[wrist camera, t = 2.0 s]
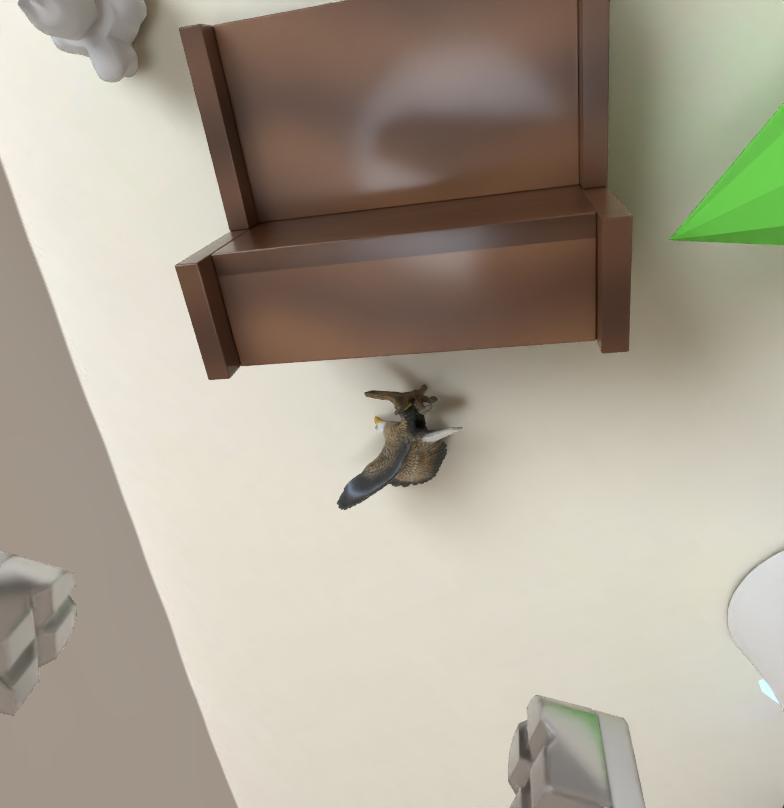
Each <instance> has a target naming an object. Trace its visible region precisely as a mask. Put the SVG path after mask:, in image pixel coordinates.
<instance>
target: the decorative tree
mask: <svg viewBox="0 0 784 808" xmlns="http://www.w3.org/2000/svg"><path fill="white" fill-rule="evenodd" d="M669 240H678V241H701V242H724V243H747V244H770V245H784V103H783V104H782V106H781V107H780V108H779V109H778V110H777V112H776V113H775V114H774V115H773V116H772V118H771V119H770V120H769V121H768V122H767V123H766V125H765V126H764V127H763V128H762V129H761V131H760V132H759V133H758V134H757V135H756V137H755V138H754V139H753V140H752V141H751V143H750V144H749V145H748V146H747V147H746V149H745V150H744V151H743V152H742V153H741V155H740V156H739V157H738V158H737V159H736V161H735V162H734V163H733V164H732V165H731V167H730V168H729V169H728V170H727V171H726V172H725V174H724V175H723V176H722V177H721V178H720V180H719V181H718V182H717V183H716V184H715V186H714V187H713V188H712V189H711V190H710V192H709V193H708V194H707V195H706V196H705V198H704V199H703V200H702V201H701V202H700V204H699V205H698V206H697V207H696V208H695V210H694V211H693V212H692V213H691V214H690V216H689V217H688V218H687V219H686V220H685V221H684V223H683V224H682V225H681V226H680V227H679V229H678V230H677V231H676V232H675V233H674V235H673V236H672V237H671V238H670V239H669Z"/></svg>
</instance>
